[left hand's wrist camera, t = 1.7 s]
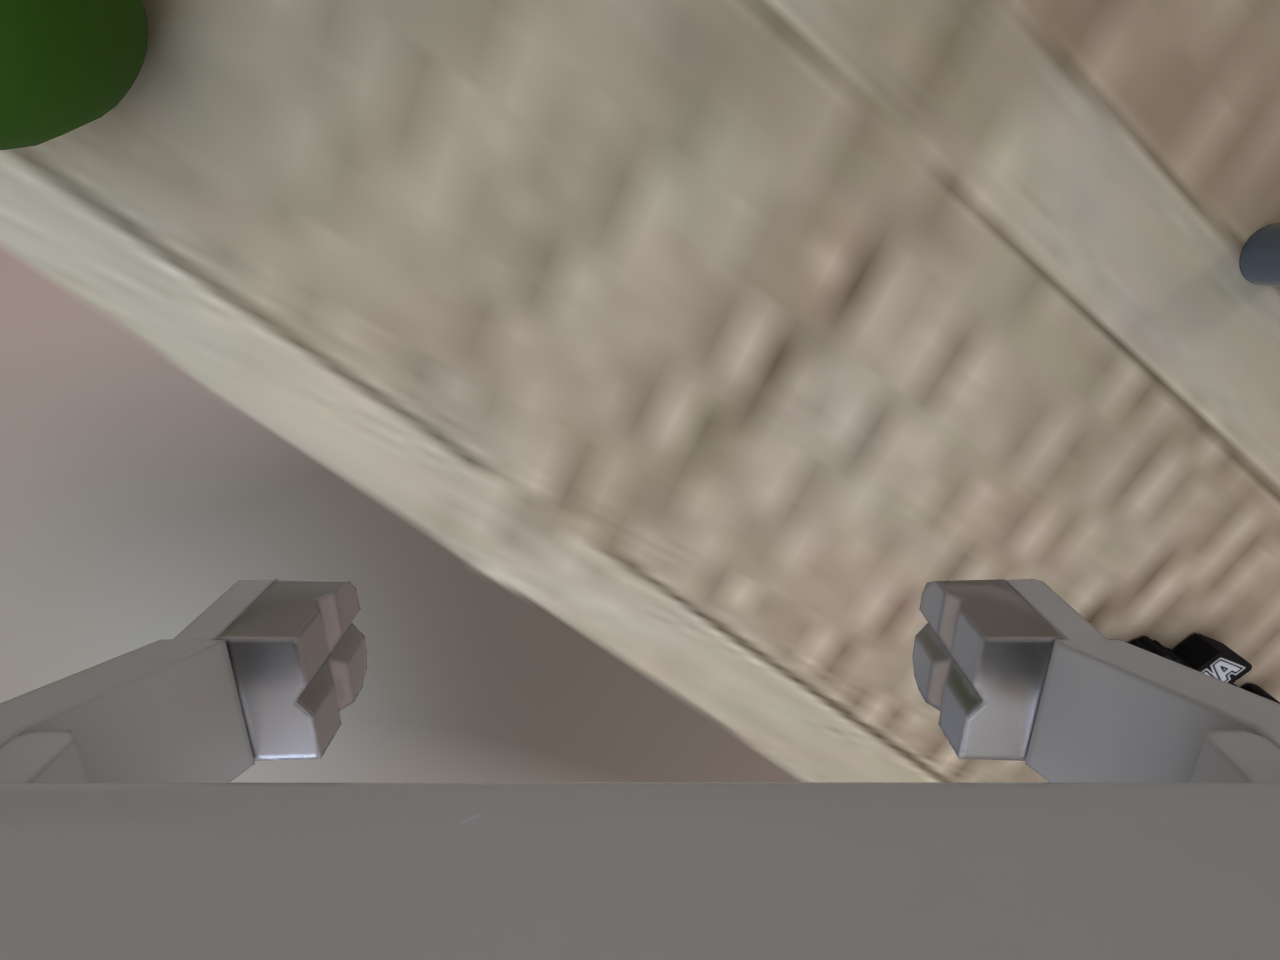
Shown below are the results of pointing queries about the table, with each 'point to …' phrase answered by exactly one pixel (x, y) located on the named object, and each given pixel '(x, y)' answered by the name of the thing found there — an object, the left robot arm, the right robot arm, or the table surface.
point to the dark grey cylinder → (1262, 257)
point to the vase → (65, 64)
